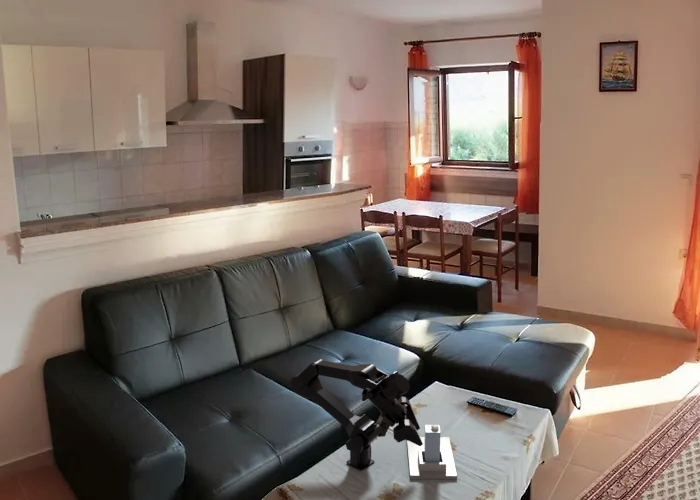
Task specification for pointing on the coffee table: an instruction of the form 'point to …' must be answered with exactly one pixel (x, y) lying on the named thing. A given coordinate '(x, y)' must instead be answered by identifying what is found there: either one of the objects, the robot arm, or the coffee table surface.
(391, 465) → the coffee table surface
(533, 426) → the coffee table surface
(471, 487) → the coffee table surface
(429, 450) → the block
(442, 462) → the plate
